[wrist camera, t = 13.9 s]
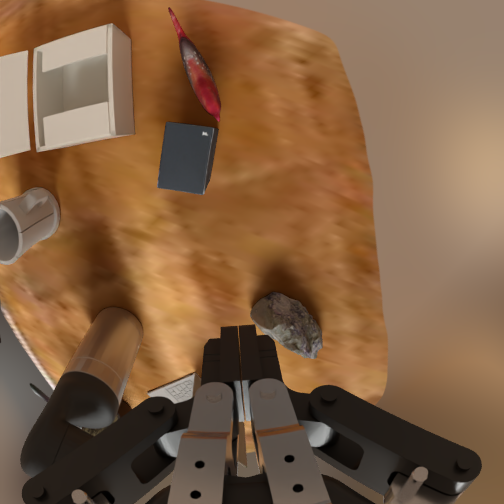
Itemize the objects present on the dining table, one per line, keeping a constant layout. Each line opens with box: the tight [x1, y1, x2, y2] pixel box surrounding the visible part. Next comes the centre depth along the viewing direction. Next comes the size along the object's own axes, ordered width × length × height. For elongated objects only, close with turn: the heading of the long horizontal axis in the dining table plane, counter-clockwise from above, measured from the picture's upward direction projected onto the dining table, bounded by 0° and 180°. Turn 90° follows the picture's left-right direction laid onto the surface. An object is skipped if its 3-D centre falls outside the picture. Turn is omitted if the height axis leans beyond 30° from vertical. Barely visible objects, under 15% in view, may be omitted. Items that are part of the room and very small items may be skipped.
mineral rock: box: [250, 292, 322, 359], centre depth 50 cm, size 13×11×10 cm
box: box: [157, 122, 219, 195], centre depth 39 cm, size 8×6×11 cm
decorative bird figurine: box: [168, 8, 221, 122], centre depth 35 cm, size 3×18×10 cm, turn 22°
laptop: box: [147, 373, 247, 468], centre depth 56 cm, size 18×12×13 cm
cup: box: [0, 187, 60, 265], centre depth 39 cm, size 10×9×12 cm
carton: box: [33, 23, 135, 152], centre depth 35 cm, size 12×15×9 cm
